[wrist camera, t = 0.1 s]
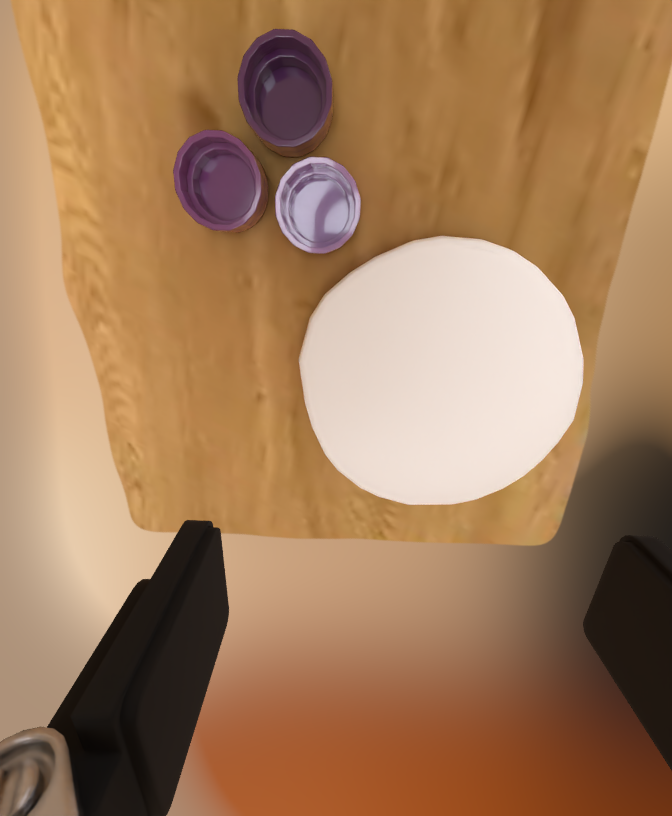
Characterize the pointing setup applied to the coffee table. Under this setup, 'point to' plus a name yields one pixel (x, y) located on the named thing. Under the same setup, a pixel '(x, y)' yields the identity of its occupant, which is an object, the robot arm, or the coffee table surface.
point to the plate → (441, 371)
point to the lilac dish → (317, 205)
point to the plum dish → (220, 182)
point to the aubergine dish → (286, 92)
